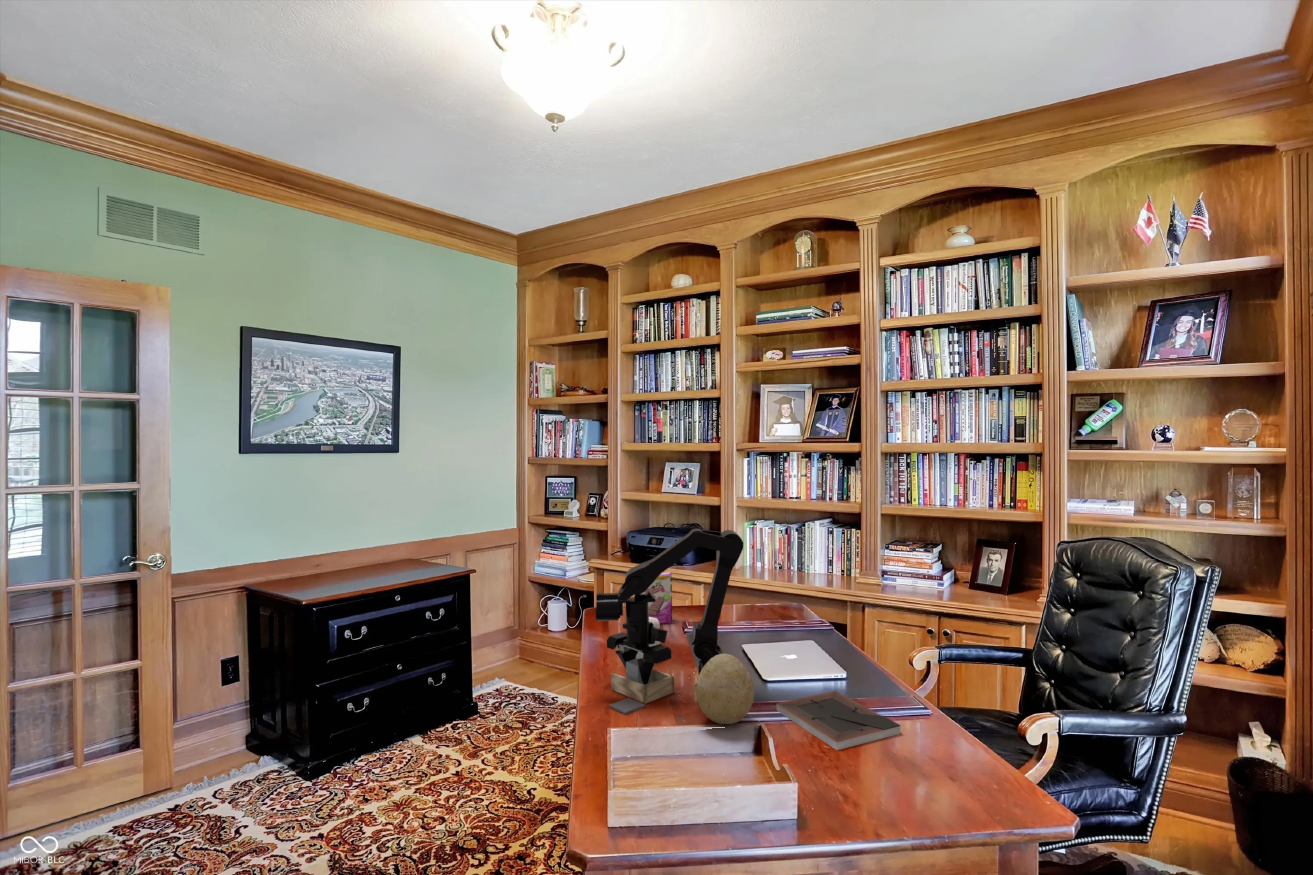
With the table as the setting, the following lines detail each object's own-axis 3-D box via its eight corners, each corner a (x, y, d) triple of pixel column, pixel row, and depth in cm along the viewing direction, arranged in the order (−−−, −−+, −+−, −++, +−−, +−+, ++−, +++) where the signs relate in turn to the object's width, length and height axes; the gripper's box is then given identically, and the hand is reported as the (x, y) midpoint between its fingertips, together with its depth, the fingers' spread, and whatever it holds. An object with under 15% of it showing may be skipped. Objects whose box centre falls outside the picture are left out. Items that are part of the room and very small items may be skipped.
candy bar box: (639, 625, 227) (637, 575, 227) (639, 621, 232) (638, 572, 232) (673, 624, 227) (671, 574, 227) (672, 619, 232) (671, 571, 232)
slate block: (652, 689, 172) (651, 661, 172) (638, 694, 169) (637, 666, 169) (640, 684, 175) (639, 657, 175) (626, 689, 172) (625, 661, 172)
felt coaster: (645, 706, 161) (645, 704, 161) (625, 714, 157) (625, 712, 157) (628, 699, 166) (628, 697, 166) (609, 707, 162) (609, 705, 162)
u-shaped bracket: (674, 692, 170) (673, 676, 169) (645, 703, 163) (644, 686, 163) (640, 679, 179) (639, 663, 179) (611, 689, 173) (610, 673, 172)
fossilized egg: (687, 716, 156) (686, 650, 155) (737, 706, 160) (736, 642, 160) (712, 739, 144) (710, 668, 143) (765, 728, 148) (763, 659, 148)
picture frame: (900, 736, 144) (835, 699, 164) (900, 724, 144) (835, 689, 164) (836, 753, 138) (776, 713, 157) (836, 741, 138) (776, 702, 157)
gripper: (686, 619, 170) (688, 682, 170) (637, 606, 184) (639, 664, 184) (653, 629, 163) (655, 695, 163) (604, 614, 176) (606, 675, 177)
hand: (639, 681), depth 172 cm, fingers closed on slate block, 4 cm apart
